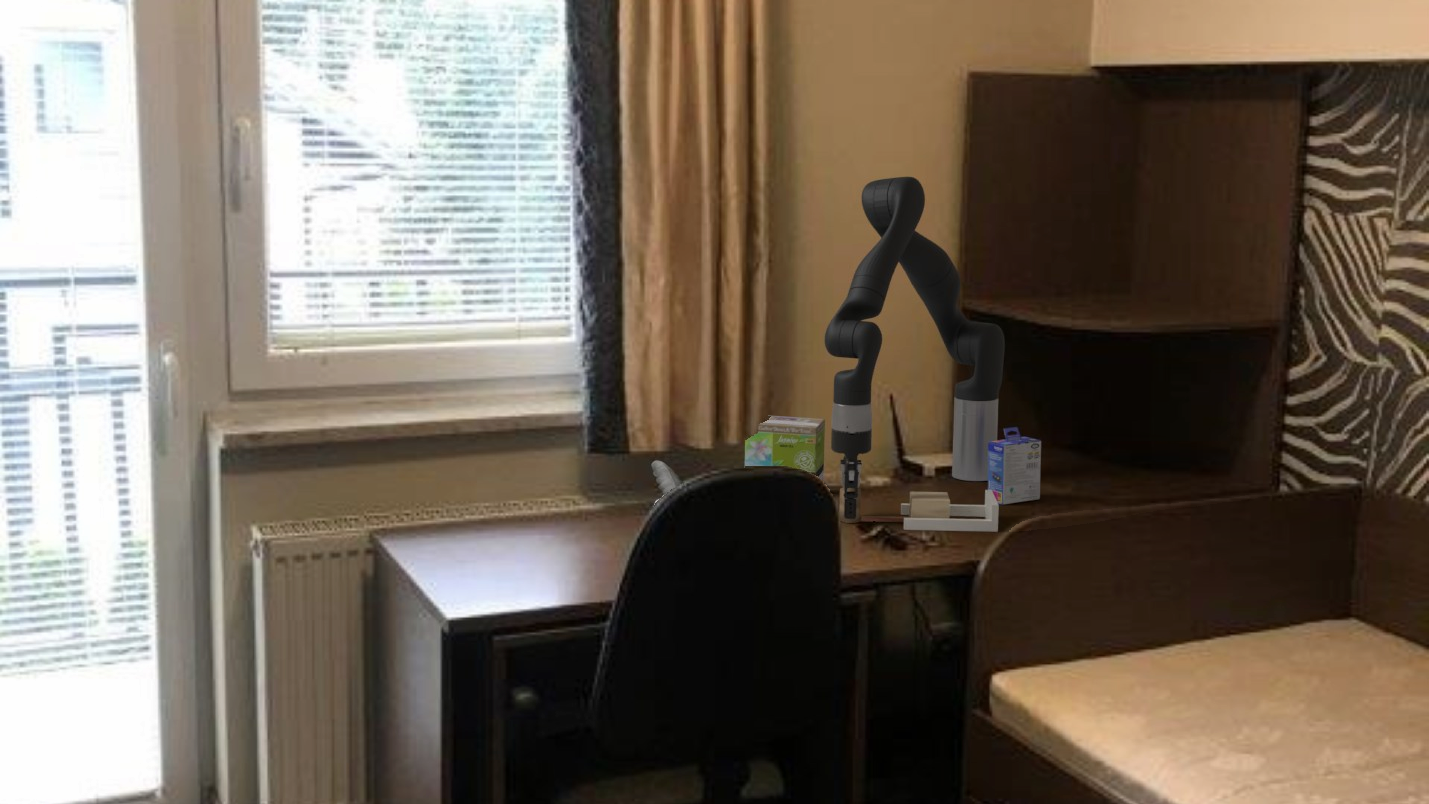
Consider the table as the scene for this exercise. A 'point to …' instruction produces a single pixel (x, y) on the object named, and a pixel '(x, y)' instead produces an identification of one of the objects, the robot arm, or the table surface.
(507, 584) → the table surface
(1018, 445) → the ink cartridge box
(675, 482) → the grey ribbed curved piece
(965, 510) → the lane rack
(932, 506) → the beech mallet
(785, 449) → the tea box
